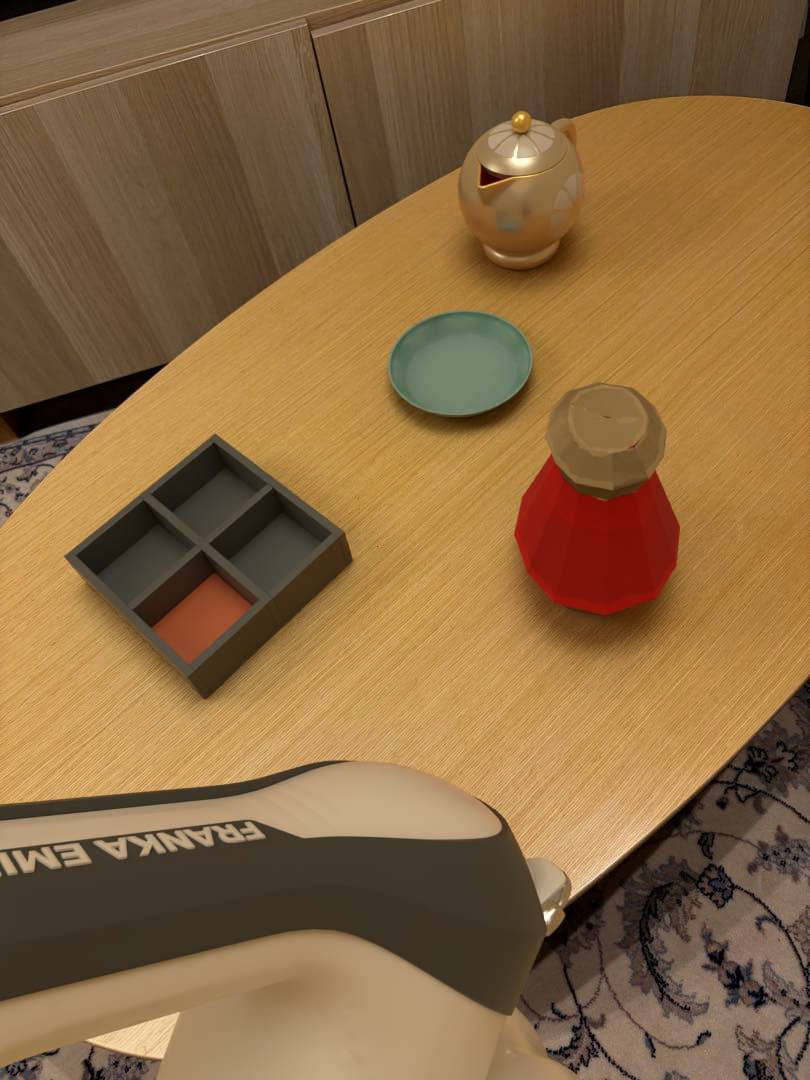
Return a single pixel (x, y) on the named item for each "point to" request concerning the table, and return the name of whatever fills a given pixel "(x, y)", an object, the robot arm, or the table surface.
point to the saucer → (460, 363)
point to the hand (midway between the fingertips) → (326, 915)
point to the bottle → (600, 504)
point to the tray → (211, 562)
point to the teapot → (522, 189)
